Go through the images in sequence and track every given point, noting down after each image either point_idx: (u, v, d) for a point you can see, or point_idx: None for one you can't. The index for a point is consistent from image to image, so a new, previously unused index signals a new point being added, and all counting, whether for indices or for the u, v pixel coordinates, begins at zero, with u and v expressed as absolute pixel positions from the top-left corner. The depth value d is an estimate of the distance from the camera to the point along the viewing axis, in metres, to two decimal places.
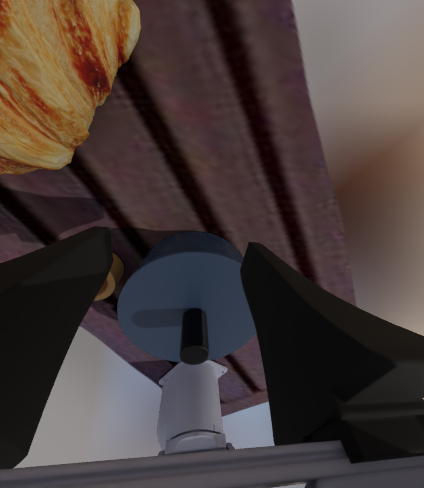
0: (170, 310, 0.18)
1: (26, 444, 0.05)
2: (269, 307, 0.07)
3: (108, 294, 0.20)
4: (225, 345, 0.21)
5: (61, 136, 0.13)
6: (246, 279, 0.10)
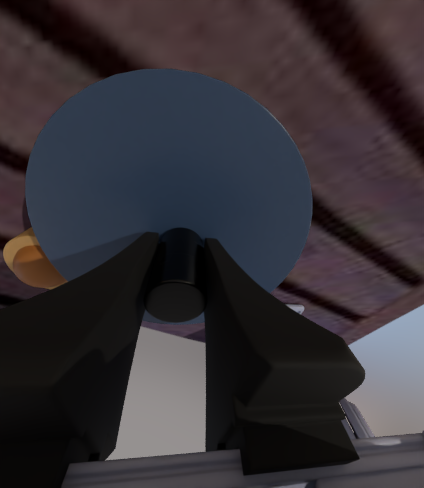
0: None
1: (115, 438, 0.05)
2: (212, 305, 0.07)
3: None
4: (265, 272, 0.12)
5: None
6: None
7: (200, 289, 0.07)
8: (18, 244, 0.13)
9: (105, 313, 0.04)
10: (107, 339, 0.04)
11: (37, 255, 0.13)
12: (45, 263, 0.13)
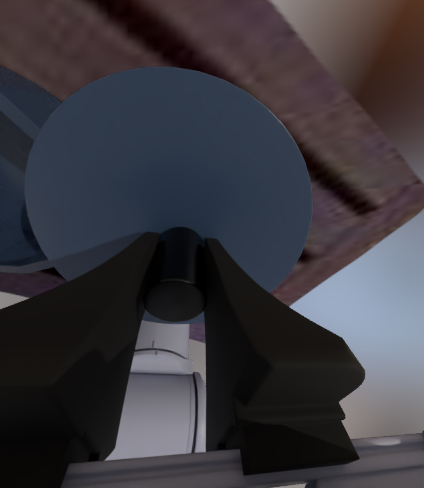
0: None
1: (115, 438, 0.05)
2: (212, 305, 0.07)
3: None
4: (265, 272, 0.12)
5: None
6: None
7: (200, 288, 0.07)
8: None
9: (105, 313, 0.04)
10: (107, 338, 0.04)
11: None
12: None
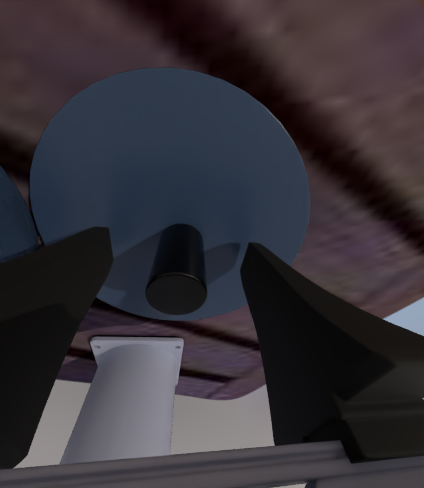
0: (138, 247, 0.10)
1: (26, 444, 0.05)
2: (269, 307, 0.07)
3: None
4: None
5: None
6: (246, 279, 0.10)
7: (200, 282, 0.07)
8: None
9: None
10: None
11: None
12: None
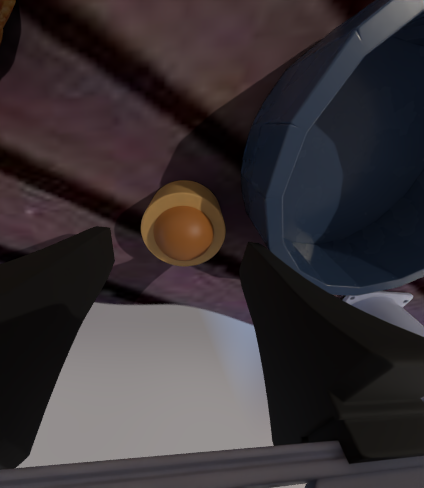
0: None
1: (29, 443, 0.05)
2: (268, 307, 0.07)
3: (220, 243, 0.12)
4: None
5: None
6: (245, 279, 0.10)
7: None
8: (166, 204, 0.10)
9: None
10: None
11: (192, 217, 0.10)
12: (200, 227, 0.10)
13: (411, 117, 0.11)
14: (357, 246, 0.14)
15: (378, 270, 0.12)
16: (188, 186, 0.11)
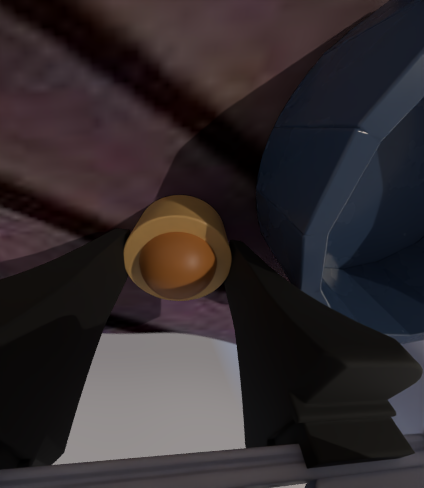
0: None
1: (64, 441, 0.05)
2: (245, 306, 0.07)
3: (224, 275, 0.09)
4: None
5: None
6: (227, 277, 0.10)
7: None
8: (154, 229, 0.08)
9: (28, 310, 0.04)
10: (35, 337, 0.04)
11: (188, 248, 0.08)
12: (199, 261, 0.08)
13: None
14: (394, 274, 0.12)
15: None
16: (184, 204, 0.09)
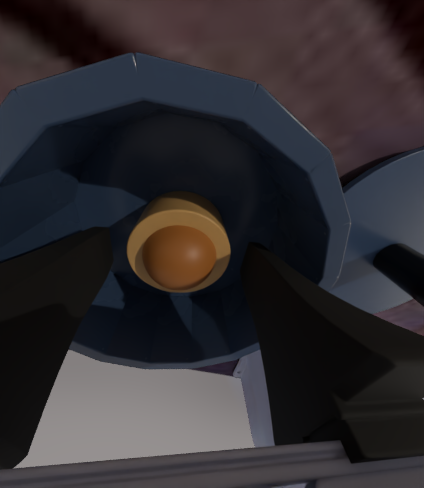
0: (355, 261, 0.13)
1: (26, 444, 0.05)
2: (269, 307, 0.07)
3: (224, 267, 0.10)
4: None
5: None
6: (246, 279, 0.10)
7: None
8: (157, 223, 0.08)
9: None
10: None
11: (189, 240, 0.08)
12: (200, 253, 0.08)
13: (237, 185, 0.10)
14: (222, 303, 0.14)
15: (220, 340, 0.12)
16: (185, 199, 0.09)
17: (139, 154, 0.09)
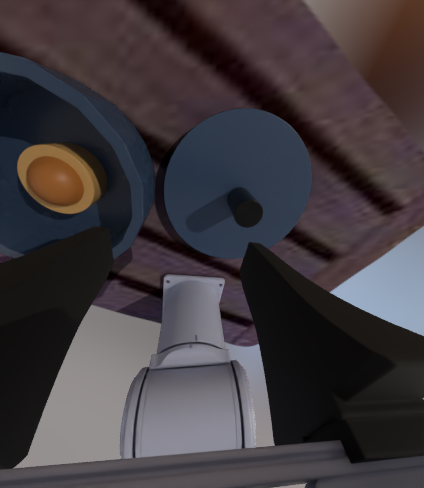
0: (213, 202, 0.18)
1: (26, 444, 0.05)
2: (269, 307, 0.07)
3: (91, 192, 0.15)
4: (284, 219, 0.20)
5: None
6: (246, 279, 0.10)
7: (261, 206, 0.15)
8: (32, 154, 0.13)
9: None
10: None
11: (51, 163, 0.13)
12: (58, 172, 0.13)
13: (105, 139, 0.15)
14: (117, 235, 0.18)
15: None
16: (59, 143, 0.14)
17: (30, 115, 0.14)
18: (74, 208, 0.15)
